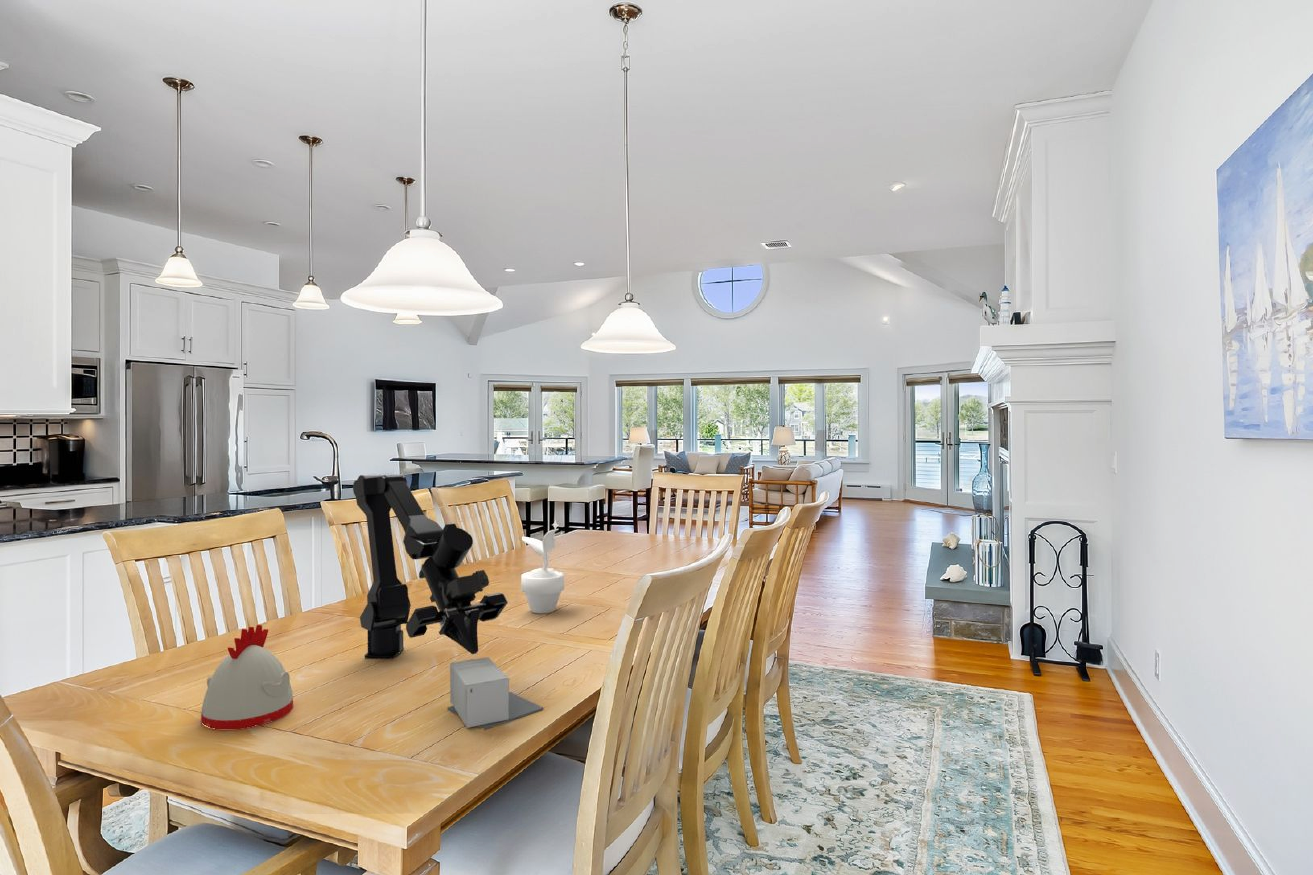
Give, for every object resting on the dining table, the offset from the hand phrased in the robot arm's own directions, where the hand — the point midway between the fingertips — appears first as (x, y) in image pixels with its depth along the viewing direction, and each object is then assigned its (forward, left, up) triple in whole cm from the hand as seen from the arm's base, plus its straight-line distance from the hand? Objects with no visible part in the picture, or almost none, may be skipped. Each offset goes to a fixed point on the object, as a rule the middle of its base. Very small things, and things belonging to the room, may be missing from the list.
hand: (475, 652), depth 132 cm
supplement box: (-1, 0, -5) cm, 5 cm away
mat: (+5, -5, -9) cm, 11 cm away
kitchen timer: (-38, -6, -9) cm, 39 cm away
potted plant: (+3, +62, -9) cm, 63 cm away
